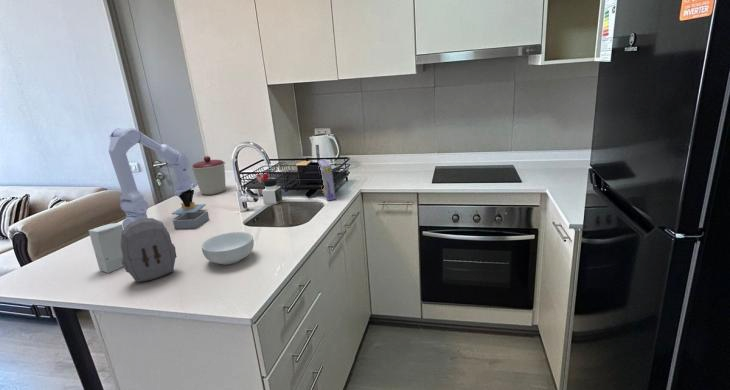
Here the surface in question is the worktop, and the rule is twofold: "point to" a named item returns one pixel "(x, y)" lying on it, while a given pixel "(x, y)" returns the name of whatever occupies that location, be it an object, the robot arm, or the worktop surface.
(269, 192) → the medicine bottle
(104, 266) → the skincare box
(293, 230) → the worktop surface
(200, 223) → the tub
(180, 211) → the lid
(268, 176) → the soda can
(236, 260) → the cereal bowl
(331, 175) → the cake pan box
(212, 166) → the canister
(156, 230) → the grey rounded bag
